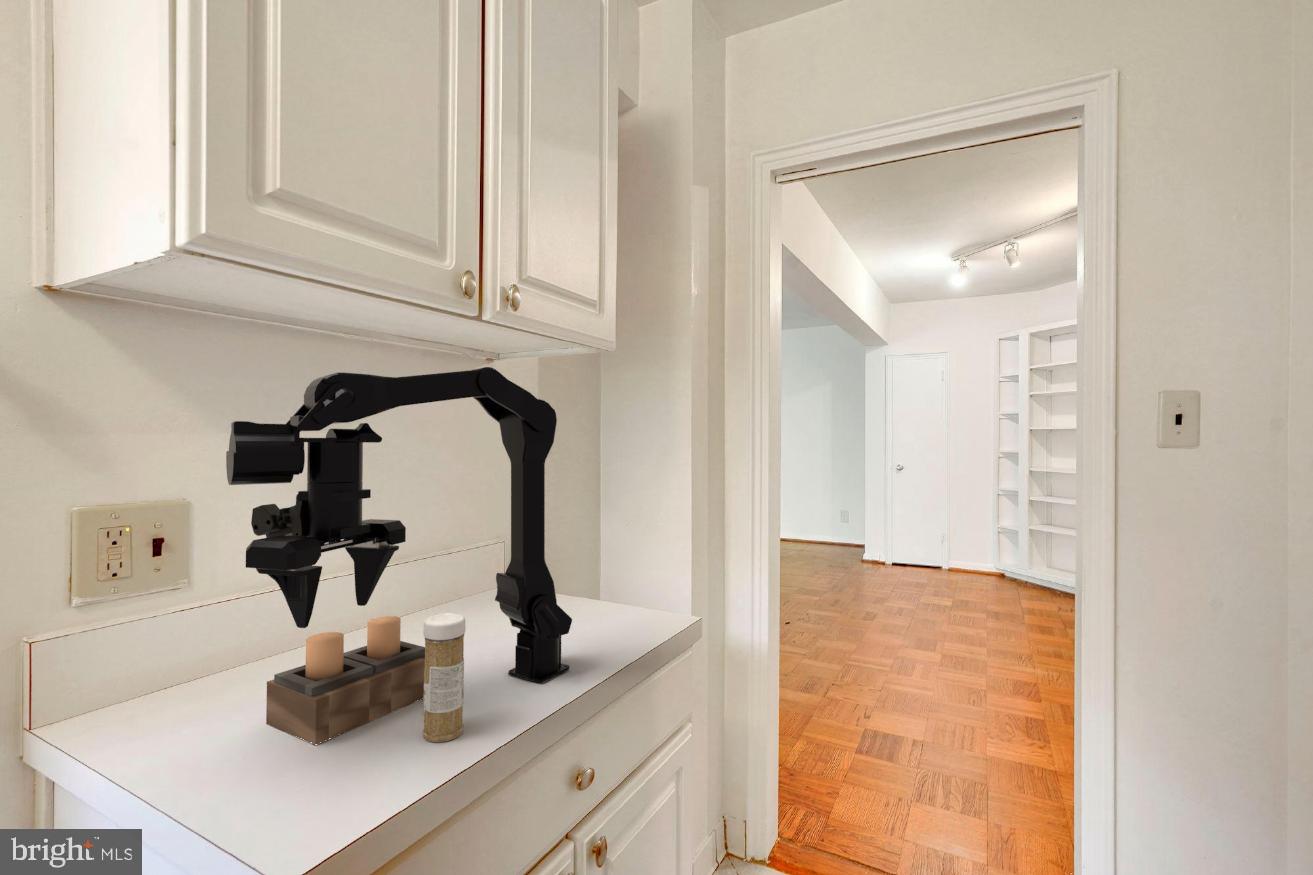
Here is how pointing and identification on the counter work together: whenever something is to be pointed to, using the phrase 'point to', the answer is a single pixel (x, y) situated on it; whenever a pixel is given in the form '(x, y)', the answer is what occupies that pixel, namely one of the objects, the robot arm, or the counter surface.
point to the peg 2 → (383, 637)
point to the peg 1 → (324, 655)
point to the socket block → (345, 693)
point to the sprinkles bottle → (443, 676)
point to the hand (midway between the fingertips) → (333, 615)
